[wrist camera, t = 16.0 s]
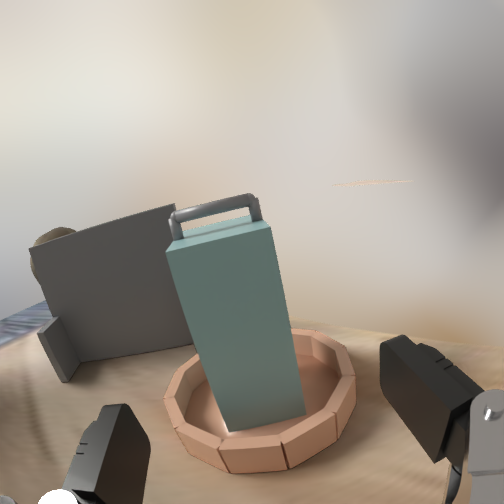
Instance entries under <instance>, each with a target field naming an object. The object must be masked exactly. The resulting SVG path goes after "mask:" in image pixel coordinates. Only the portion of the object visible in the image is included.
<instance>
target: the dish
mask: <svg viewBox="0 0 504 504" xmlns="http://www.w3.org/2000/svg"><path fill="white" fill-rule="evenodd" d="M291 332H292V337H293V342H294V348H295V353H296V358H297V364H298V369H299V375H300V380H301V386H302V392H303V397H304V403H305V409H306V414H307V415H304V416H300V417H297V418H293V419H289V420H285V421H281V422H277V423H273V424H269V425H264V426H260V427H255V428H251V429H246V430H240V431H235V432H230V433H229V432H228V429H227V427H226V424H225V422H224V420H223V417H222V415H221V412H220V410H219V408H218V405H217V403H216V400H215V398H214V395H213V393H212V390H211V387H210V385H209V382H208V380H207V377H206V374H205V372H204V369H203V366H202V364H201V361H200V358H199V355H198V353H197V354H196V355H195V356H193V357H192V358H191V359H190V360H188V361H187V362H186V363H185V364H183V365H182V366H181V367H179V368H178V369H177V371H175V373H174V375H173V377H172V380H171V382H170V384H169V386H168V389H167V391H166V393H165V395H164V397H163V401H164V403H165V406H166V409H167V411H168V414H169V417H170V419H171V422H172V424H173V427H174V429H175V431H176V432H177V434H178V436H179V438H180V440H181V441H182V443H183V445H184V446H185V448H186V450H187V451H188V452H189V454H191V455H193V456H194V457H196V458H198V459H200V460H202V461H204V462H206V463H208V464H210V465H212V466H214V467H217V468H219V469H221V470H223V471H225V472H227V473H229V472H231V474H236V473H257V472H270V471H281V470H288V468H287V467H289V468H290V469H291V468H293V467H295V466H296V465H298V464H300V463H302V462H303V461H305V460H307V459H309V458H310V457H312V456H314V455H315V454H317V453H318V452H320V451H322V450H323V449H325V448H326V447H328V446H330V445H331V444H333V443H334V442H336V441H337V439H339V437H340V435H341V433H342V431H343V429H344V427H345V425H346V423H347V422H348V420H349V417H350V415H351V413H352V411H353V409H354V407H355V405H356V377H355V372H354V369H353V366H352V363H351V360H350V358H349V355H348V352H347V349H346V347H345V346H344V345H342V344H340V343H339V342H337V341H335V340H333V339H331V338H329V337H328V336H326V335H324V334H322V333H320V332H319V331H317V332H316V330H305V329H295V328H291Z"/></svg>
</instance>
